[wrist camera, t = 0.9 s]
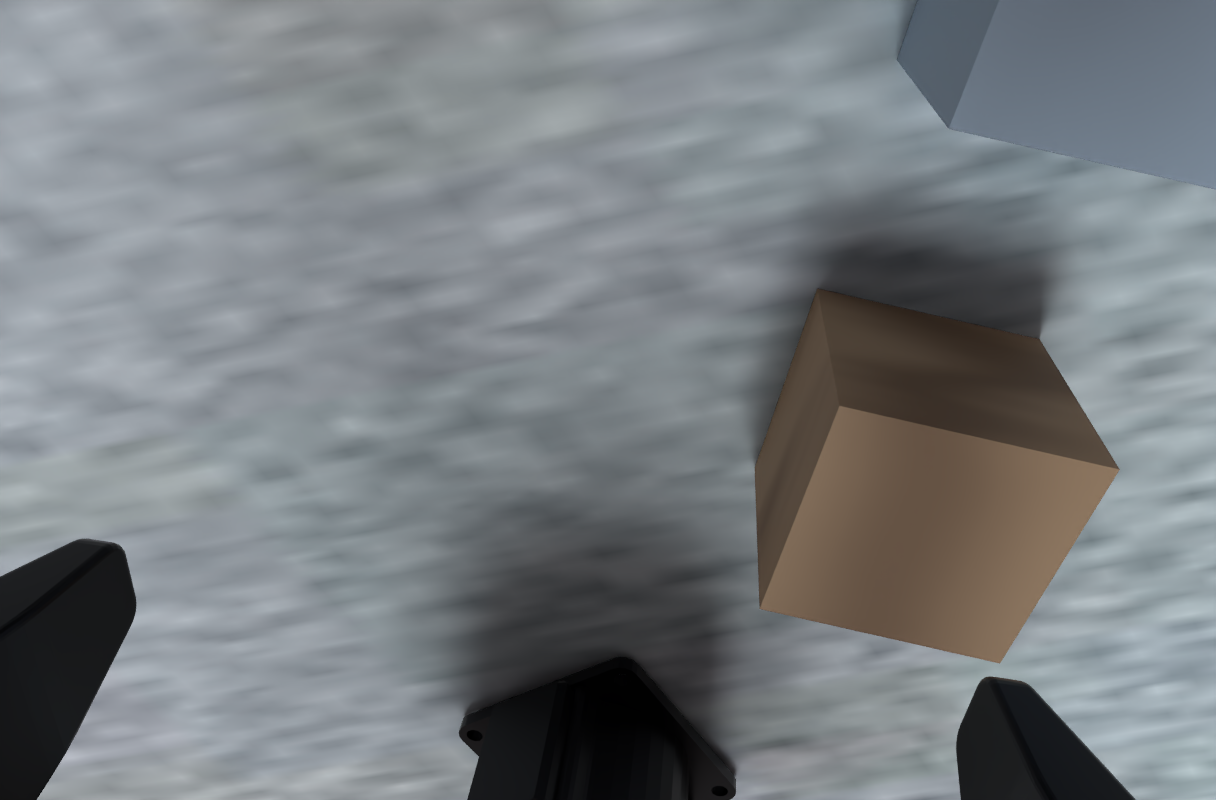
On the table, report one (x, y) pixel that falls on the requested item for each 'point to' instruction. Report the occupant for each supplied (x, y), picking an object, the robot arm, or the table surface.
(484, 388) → the table surface
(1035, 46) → the blue cube
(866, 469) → the walnut cube
